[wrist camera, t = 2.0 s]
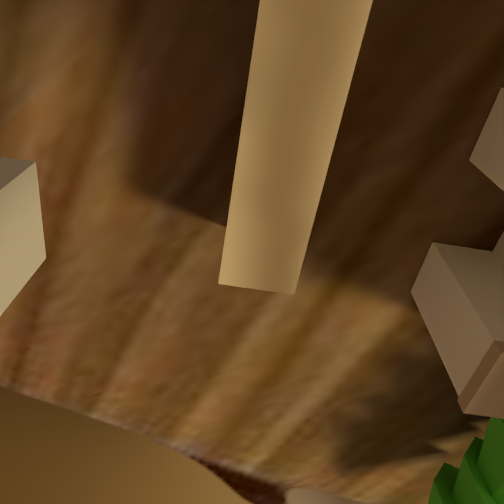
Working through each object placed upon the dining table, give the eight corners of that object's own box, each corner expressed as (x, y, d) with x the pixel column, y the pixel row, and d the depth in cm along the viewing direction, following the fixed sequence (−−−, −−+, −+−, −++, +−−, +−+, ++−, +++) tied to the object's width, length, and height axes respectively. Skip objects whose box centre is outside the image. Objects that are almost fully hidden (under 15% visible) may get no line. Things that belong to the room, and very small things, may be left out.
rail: (227, 227, 28) (218, 283, 23) (273, -87, 19) (276, -110, 14) (289, 236, 28) (294, 294, 23) (362, -70, 19) (395, -86, 14)
